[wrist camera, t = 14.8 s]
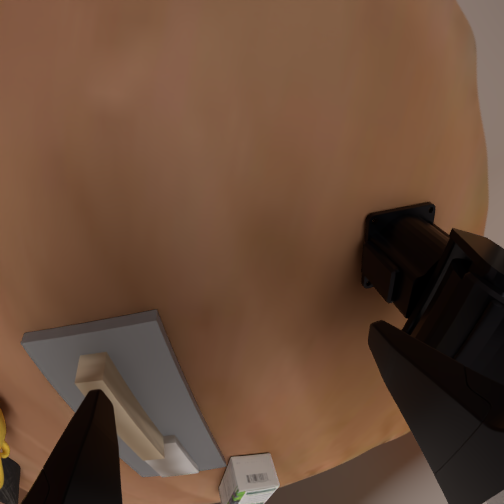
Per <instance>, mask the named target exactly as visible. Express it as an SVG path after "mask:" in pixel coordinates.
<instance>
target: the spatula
mask: <svg viewBox="0 0 504 504" xmlns="http://www.w3.org/2000/svg"><path fill="white" fill-rule="evenodd" d="M75 385H76V386H77V387H78V389H79V390H80V391H81V392H82V394H83V395H84V396H86V395H87V393H88V392H89V391H90V390H94V389H101V390H102V391H103V392H104V393H105V394H106V396H107V397H108V398H109V399H110V401H111V402H112V404H113V407H114V414H115V422H116V430H117V434H118V436H119V437H120V438H121V439H122V440H123V441H124V442H125V443H126V444H127V445H128V446H129V447H130V448H131V449H132V450H133V451H134V452H135V453H136V454H137V455H138V456H139V457H140V458H141V459H142V460H143V461H146V462H147V463H148V464H149V465H150V466H151V467H152V468H153V469H154V470H155V471H156V472H157V473H158V474H159V475H160V476H162V477H169V476H178V475H187V474H194V473H199V470H198V466H197V464H196V463H195V462H194V460H193V459H192V458H191V457H190V455H189V454H188V452H187V451H186V450H185V448H184V447H183V446H182V444H181V443H180V441H179V440H178V439H177V437H176V436H175V435H168V436H163V435H162V434H161V433H160V431H159V430H158V429H157V427H156V426H155V425H154V423H153V422H152V421H151V419H150V418H149V416H148V415H147V414H146V412H145V411H144V409H143V408H142V407H141V405H140V404H139V402H138V401H137V399H136V398H135V396H134V395H133V393H132V392H131V390H130V389H129V387H128V386H127V384H126V383H125V381H124V379H123V378H122V376H121V375H120V373H119V372H118V370H117V368H116V367H115V365H114V363H113V362H112V360H111V358H110V357H109V355H108V353H107V352H101V353H95V354H88V355H81V356H80V358H79V363H78V368H77V373H76V378H75Z"/></svg>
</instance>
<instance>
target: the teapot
mask: <svg viewBox="0 0 504 504" xmlns="http://www.w3.org/2000/svg"><path fill="white" fill-rule="evenodd" d="M5 435H6V423H5V419H4V416H3V413H2V410H1V408H0V450H1V448H2V450H3V452H2V453H1V452H0V489H1V488H2V486H3V483H4V473H3V466H2V461H1V458H7V457H8V456H9V454H10V448H9V446H8V444H7V443H6V442H5V441H4V439H5Z"/></svg>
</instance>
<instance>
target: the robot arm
mask: <svg viewBox="0 0 504 504" xmlns="http://www.w3.org/2000/svg"><path fill="white" fill-rule="evenodd" d="M434 215H435V205H434V204H432V203H431V202H427V203H422V204H417V205H411V206H406V207H401V208H396V209H390V210H385V211H380V212H375V213H371V214H369V215H368V217H367V219H366V233H365V243H364V245H363V258H362V269H361V272H362V281H361V283H362V285H363V286H364V287H365V288H371V287H375V289H376V290H377V291H378V292H379V293H380V295H381V296H382V297H383V298H384V299H385V301H386V302H388V303H392V302H393V303H394V305H395V306H396V307H397V308H398V309H399V311H400V312H401V313H402V314H403V315H404V317H405V318H406V319H407V318H408V320H407V322H406V324H405V325H404V327H403V329H402V330H400V329H398V328H396V327H394V326H392V325H391V324H389V323H387V322H385V321H383V320H379V321H376V322H374V323H371V325H370V329H369V336H368V345H369V347H370V350H371V352H372V354H373V357H374V359H375V361H376V364H377V366H378V368H379V371H380V373H381V376H382V378H383V380H384V382H385V384H386V386H387V388H388V390H389V392H390V393H391V395H392V397H393V399H394V400H395V402H396V404H397V406H398V408H399V409H400V411H401V413H402V415H403V417H404V419H405V420H406V422H407V424H408V426H409V428H410V430H411V431H412V433H413V435H414V437H415V439H416V441H417V442H418V444H419V446H420V448H421V450H422V452H423V454H424V456H425V458H426V460H427V462H428V463H429V465H430V467H431V469H432V471H433V473H434V475H435V477H436V479H437V481H438V483H439V485H440V487H441V489H442V491H443V493H444V495H445V497H446V499H447V502H448V504H482V503H484V502H485V501H486V502H487V504H504V249H503V248H502V247H500V246H499V245H497V244H496V243H494V242H493V241H491V240H489V239H488V238H486V237H483V236H479V235H476V234H472V233H469V232H465V231H462V230H458V229H455V228H452V230H451V232H450V235H448V234H447V233H446V232H444V231H443V230H442V229H440V228H439V227H438V226H436V225H435V224H433V222H434ZM373 219H375V220H374V222H372V220H373ZM368 281H369V282H368ZM367 282H368V283H367ZM21 504H122V493H121V479H120V462H119V445H118V437H117V430H116V422H115V414H114V407H113V404H112V402H111V401H110V399H109V398H108V397H107V396H106V394H105V393H104V392H103V391H102V390H101V389H94V390H90V391H89V392H88V393H87V395H86V396H85V398H84V400H83V401H82V403H81V404H80V406H79V408H78V409H77V411H76V413H75V414H74V416H73V417H72V419H71V421H70V422H69V424H68V426H67V427H66V429H65V431H64V432H63V434H62V436H61V437H60V439H59V441H58V442H57V444H56V446H55V448H54V449H53V451H52V453H51V454H50V456H49V458H48V460H47V461H46V463H45V465H44V467H43V469H42V470H41V472H40V474H39V475H38V477H37V479H36V481H35V482H34V484H33V486H32V487H31V489H30V490H29V492H28V494H27V495H26V497H25V498H24V499H23V501H22V503H21Z"/></svg>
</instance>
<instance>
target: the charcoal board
mask: <svg viewBox="0 0 504 504" xmlns="http://www.w3.org/2000/svg"><path fill="white" fill-rule="evenodd" d="M21 345H22V346H23V347H24V349H25V350H26V352H27V353H28V355H29V356H30V357H31V359H32V360H33V361H34V363H35V364H36V365H37V367H38V368H39V369H40V371H41V372H42V373H43V375H44V376H45V377H46V379H47V380H48V381H49V382H50V384H51V385H52V386H53V387H54V388H55V390H56V391H57V392H58V393H59V394H60V396H61V397H62V398H63V399H64V400H65V402H66V403H67V404H68V405H69V406H70V407H71V408H72V410H73V411H74V412H75V413H76V411H77V409H78V408H79V406H80V404H81V403H82V401H83V400H84V398H85V396H84V395H83V394H82V392H81V391H80V390H79V389H78V387H77V386H76V385H75V378H76V373H77V368H78V363H79V358H80V356H81V355H88V354H95V353H101V352H107V353H108V355H109V357H110V358H111V360H112V362H113V363H114V365H115V367H116V368H117V370H118V372H119V373H120V375H121V376H122V378H123V379H124V381H125V383H126V384H127V386H128V387H129V389H130V390H131V392H132V393H133V395H134V396H135V398H136V399H137V401H138V402H139V404H140V405H141V407H142V408H143V409H144V411H145V412H146V414H147V415H148V416H149V418H150V419H151V421H152V422H153V423H154V425H155V426H156V427H157V429H158V430H159V431H160V433H161V434H162V435H163V436H168V435H175V436H176V437H177V439H178V440H179V441H180V443H181V444H182V446H183V447H184V448H185V450H186V451H187V452H188V454H189V455H190V457H191V458H192V459H193V460H194V462H195V463H196V464H197V466H198V470H199V471H203V470H210V469H216V468H221V467H227V466H226V461H225V458H224V456H223V454H222V453H221V451H220V449H219V447H218V445H217V443H216V441H215V439H214V437H213V435H212V433H211V431H210V429H209V427H208V425H207V423H206V421H205V419H204V417H203V415H202V413H201V411H200V409H199V407H198V405H197V403H196V401H195V398H194V396H193V394H192V392H191V390H190V388H189V385H188V383H187V381H186V379H185V377H184V374H183V372H182V370H181V368H180V365H179V363H178V361H177V358H176V356H175V354H174V351H173V349H172V346H171V344H170V342H169V339H168V337H167V334H166V332H165V329H164V327H163V324H162V322H161V319H160V316H159V314H158V311H157V309H156V310H151V311H146V312H141V313H136V314H130V315H125V316H120V317H115V318H109V319H104V320H98V321H93V322H87V323H82V324H76V325H70V326H64V327H59V328H53V329H47V330H40V331H34V332H28V333H24V336H23V338H22V341H21ZM117 437H118V445H119V457H120V458H121V459H122V460H123V461H124V462H126V463H127V464H128V465H129V466H130V467H131V468H132V469H134V470H135V471H136V472H137V473H138V474H139V475H141V476H142V477H151V476H160V475H159V474H158V473H157V472H156V471H155V470H154V469H153V468H152V467H151V466H150V465H149V464H148V463H147V462H146V461H143V460H142V459H141V458H140V457H139V456H138V455H137V454H136V453H135V452H134V451H133V450H132V449H131V448H130V447H129V446H128V445H127V444H126V443H125V442H124V441H123V440H122V439H121V438H120V437H119V436H118V434H117Z"/></svg>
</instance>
